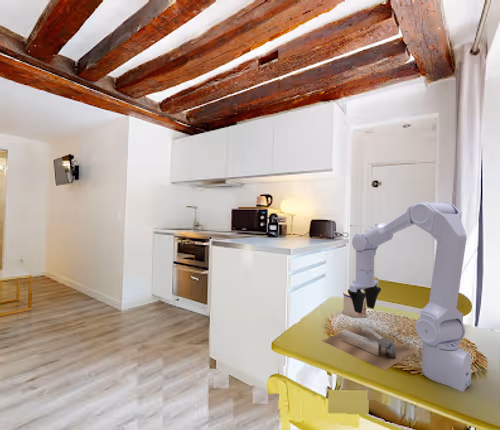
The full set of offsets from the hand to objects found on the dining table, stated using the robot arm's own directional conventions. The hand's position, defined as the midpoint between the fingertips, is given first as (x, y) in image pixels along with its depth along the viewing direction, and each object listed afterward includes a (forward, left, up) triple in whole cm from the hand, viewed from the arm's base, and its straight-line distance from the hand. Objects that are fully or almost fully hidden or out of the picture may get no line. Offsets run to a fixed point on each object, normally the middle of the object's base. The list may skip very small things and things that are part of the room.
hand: (364, 310), depth 90 cm
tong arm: (-7, +5, -8) cm, 12 cm away
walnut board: (-5, +7, -9) cm, 12 cm away
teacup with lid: (+14, -17, -9) cm, 24 cm away
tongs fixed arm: (-6, +9, -8) cm, 13 cm away
